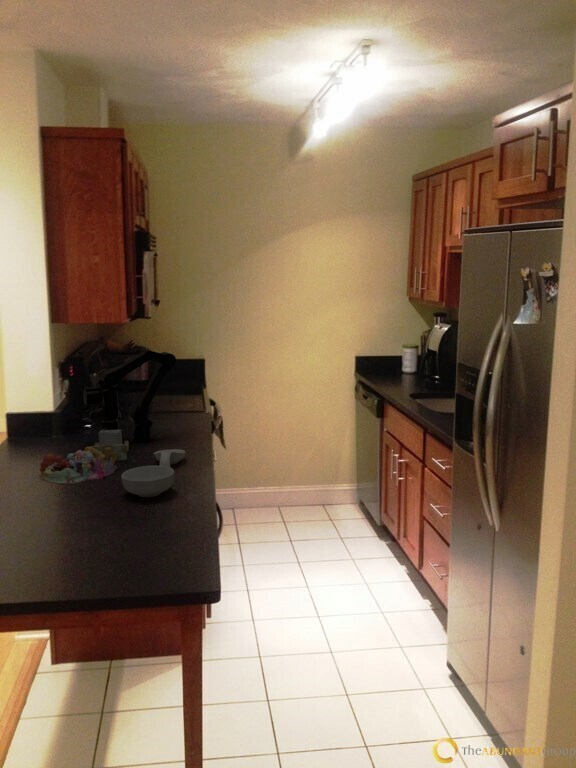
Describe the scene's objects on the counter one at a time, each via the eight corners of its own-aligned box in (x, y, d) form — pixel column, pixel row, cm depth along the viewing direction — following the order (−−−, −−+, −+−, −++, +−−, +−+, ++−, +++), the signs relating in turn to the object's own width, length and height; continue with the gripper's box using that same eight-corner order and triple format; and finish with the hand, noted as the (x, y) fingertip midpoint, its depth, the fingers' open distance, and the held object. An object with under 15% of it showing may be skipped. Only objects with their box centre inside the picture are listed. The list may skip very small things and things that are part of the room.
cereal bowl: (174, 483, 236) (174, 463, 235) (175, 500, 220) (174, 479, 219) (123, 486, 233) (122, 466, 232) (120, 504, 217) (119, 482, 216)
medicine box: (122, 450, 275) (121, 429, 273) (119, 453, 270) (118, 432, 269) (103, 450, 276) (102, 428, 274) (99, 453, 271) (98, 431, 270)
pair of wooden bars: (128, 446, 280) (128, 432, 279) (126, 460, 262) (125, 444, 261) (95, 448, 278) (94, 433, 277) (91, 462, 260) (90, 446, 259)
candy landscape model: (79, 460, 264) (78, 436, 262) (129, 468, 254) (128, 443, 252) (29, 480, 242) (27, 454, 240) (82, 489, 232) (80, 463, 230)
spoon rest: (155, 458, 266) (155, 440, 264) (186, 457, 266) (186, 439, 265) (148, 478, 242) (147, 458, 241) (182, 476, 243) (182, 457, 242)
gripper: (92, 398, 287) (94, 434, 290) (87, 408, 269) (90, 447, 272) (119, 397, 289) (121, 433, 292) (117, 406, 271) (119, 445, 274)
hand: (112, 439), depth 282 cm, fingers closed
